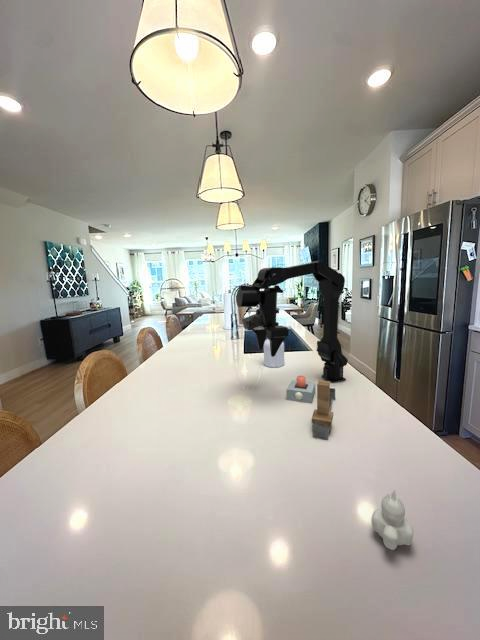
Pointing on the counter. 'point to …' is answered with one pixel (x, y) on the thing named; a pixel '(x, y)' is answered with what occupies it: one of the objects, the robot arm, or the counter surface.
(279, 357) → the soap bottle
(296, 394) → the box
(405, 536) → the white animal figurine
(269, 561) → the counter surface
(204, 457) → the counter surface
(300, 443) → the counter surface
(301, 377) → the button
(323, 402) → the wooden t-block
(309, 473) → the counter surface
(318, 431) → the rail
